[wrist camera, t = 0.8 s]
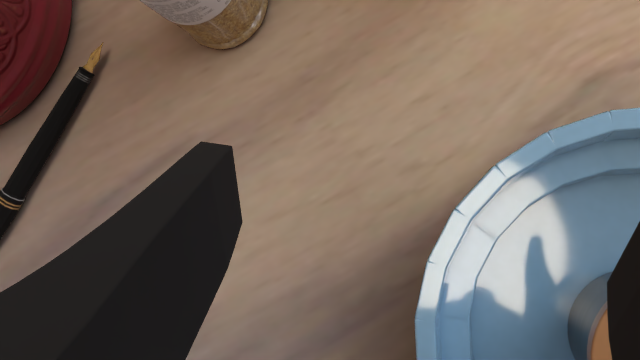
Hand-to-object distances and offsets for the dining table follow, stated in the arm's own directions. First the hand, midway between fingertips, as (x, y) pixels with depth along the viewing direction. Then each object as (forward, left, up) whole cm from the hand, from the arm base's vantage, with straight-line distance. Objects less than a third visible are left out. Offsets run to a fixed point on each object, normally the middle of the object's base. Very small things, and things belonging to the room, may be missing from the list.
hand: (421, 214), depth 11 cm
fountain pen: (+9, +19, -15) cm, 26 cm away
